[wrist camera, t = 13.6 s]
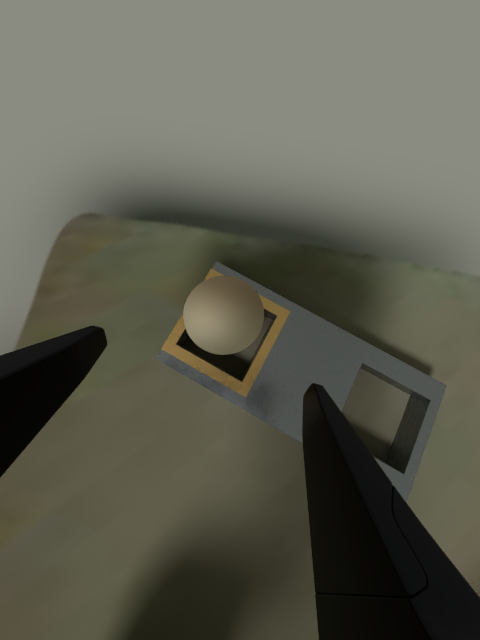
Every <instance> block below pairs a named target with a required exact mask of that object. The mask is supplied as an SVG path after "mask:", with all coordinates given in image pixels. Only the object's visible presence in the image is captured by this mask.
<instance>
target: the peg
mask: <svg viewBox="0 0 480 640" xmlns="http://www.w3.org/2000/svg"><path fill="white" fill-rule="evenodd" d="M183 319H184V325H185V328H186V331H187V333H188V335H189V336H190V338H191V339H192V341H193V342H194V343H195V344H196V345H197V346H199V347H200V348H201V349H203V350H205V351H207V352H210V353H213V354H217V355H229V354H234V353H237V352H240V351H242V350H244V349H246V348H247V347H249V346H250V345H251V344H252V343H253V342H254V341H255V340H256V338H257V337H258V335H259V334H260V332H261V329H262V326H263V322H264V308H263V304H262V301H261V299H260V297H259V295H258V293H257V292H256V291H255V289H254V288H253V287H252V286H251V285H249V284H248V283H247V282H245V281H243V280H241V279H239V278H236V277H232V276H216V277H212V278H209V279H207V280H205V281H203V282H201V283H200V284H199V285H197V286H196V287H195V288H194V289H193V290H192V292H191V293H190V294H189V296H188V298H187V300H186V303H185V306H184V312H183Z"/></svg>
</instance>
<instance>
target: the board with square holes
mask: <svg viewBox="0 0 480 640" xmlns="http://www.w3.org/2000/svg"><path fill="white" fill-rule="evenodd" d="M216 276H232V277H236V278H239V279H241V280H243V281H245V282H247V283H248V284H249V285H251V286H252V287H253V288H254V289H255V291H256V292H257V293H258V295H259V297H260V299H261V301H262V304H263V308H264V315H265V316H267V317H269V318H271V319H273V320H272V322H271V324H270V326H269V328H268V330H267V331H266V333H265V335H264V337H263V339H262V341H261V343H260V345H259V346H258V348H257V350H256V352H255V354H254V356H253V358H252V360H251V361H250V363H249V365H248V367H247V369H246V371H245V373H244V375H243V376H242V378H241V379H240V378H239V377H237V376H235V375H233V374H232V373H230V372H228V371H226V370H225V369H223V368H221V367H219V366H218V365H216V364H214V363H212V362H211V361H209V360H207V359H205V358H204V357H202V356H200V355H198V354H197V353H195V352H193V351H191V350H190V349H188V348H186V347H184V346H183V345H182V344H183V342H184V341H185V339H186V337H187V336H188V333H187V331H186V328H185V325H184V319H183V314H182V316H181V318H180V319H179V321H178V323H177V324H176V326H175V327H174V329H173V331H172V332H171V334H170V335H169V337H168V339H167V340H166V342H165V343H164V345H163V347H162V348H161V349H162V350H161V351H160V353H159V354H158V356H157V358H156V359H157V360H159V361H161V362H163V363H164V364H166V365H168V366H169V367H171V368H173V369H175V370H176V371H178V372H180V373H182V374H183V375H185V376H187V377H189V378H190V379H192V380H194V381H195V382H197V383H199V384H201V385H202V386H204V387H206V388H208V389H209V390H211V391H213V392H214V393H216V394H218V395H220V396H221V397H223V398H225V399H227V400H228V401H230V402H232V403H233V404H235V405H237V406H239V407H240V408H242V409H244V410H246V411H247V412H249V413H251V414H252V415H254V416H256V417H258V418H259V419H261V420H263V421H265V422H266V423H268V424H270V425H271V426H273V427H275V428H277V429H278V430H280V431H282V432H284V433H285V434H287V435H289V436H290V437H292V438H294V439H296V440H297V441H299V442H301V443H303V440H302V419H303V396H304V394H305V392H306V391H307V389H308V388H309V386H310V385H311V384H312V383H315V384H319V385H322V386H323V387H324V388H325V390H326V391H327V392H328V394H329V395H330V397H331V398H332V399H333V401H334V402H335V404H336V405H337V406H338V408H339V409H340V411H341V412H342V409H343V407H344V405H345V402H346V400H347V398H348V395H349V393H350V391H351V388H352V386H353V384H354V381H355V379H356V377H357V374H358V372H359V370H360V368H362V369H364V370H366V371H368V372H369V373H371V374H373V375H375V376H377V377H379V378H380V379H382V380H384V381H386V382H388V383H389V384H391V385H393V386H395V387H397V388H399V389H400V390H402V391H404V392H406V393H408V394H410V395H411V397H410V400H409V403H408V405H407V408H406V411H405V413H404V416H403V419H402V421H401V424H400V427H399V429H398V432H397V435H396V437H395V440H394V443H393V445H392V448H391V451H390V453H389V456H388V459H387V461H384V460H382V459H381V458H379V457H377V456H375V455H374V454H372V453H371V454H372V456H373V457H374V458H375V460H376V461H377V463H378V464H379V465H380V467H381V468H382V470H383V471H384V472H385V474H386V475H387V477H388V478H389V479H390V481H391V482H392V485H393V486H395V488H396V489H397V490H398V492H399V493H400V495H401V496H402V498H403V499H404V500H405V502H406V501H407V499H408V496H409V493H410V490H411V487H412V484H413V481H414V478H415V475H416V473H417V470H418V467H419V464H420V461H421V458H422V455H423V452H424V449H425V447H426V444H427V441H428V438H429V435H430V432H431V429H432V426H433V423H434V421H435V418H436V415H437V412H438V409H439V406H440V403H441V400H442V397H443V395H444V392H445V389H446V386H447V385H445V384H443V383H441V382H439V381H438V380H436V379H434V378H432V377H430V376H428V375H426V374H425V373H423V372H421V371H419V370H417V369H415V368H413V367H412V366H410V365H408V364H406V363H404V362H402V361H400V360H399V359H397V358H395V357H393V356H391V355H389V354H388V353H386V352H384V351H382V350H380V349H378V348H376V347H375V346H373V345H371V344H369V343H367V342H365V341H363V340H362V339H360V338H358V337H356V336H354V335H352V334H351V333H349V332H347V331H345V330H343V329H341V328H339V327H338V326H336V325H334V324H332V323H330V322H328V321H326V320H325V319H323V318H321V317H319V316H317V315H315V314H313V313H312V312H310V311H308V310H306V309H304V308H302V307H301V306H299V305H297V304H295V303H293V302H291V301H289V300H288V299H286V298H284V297H282V296H280V295H278V294H276V293H275V292H273V291H271V290H269V289H267V288H265V287H264V286H262V285H260V284H258V283H256V282H254V281H252V280H251V279H249V278H247V277H245V276H243V275H241V274H239V273H238V272H236V271H234V270H232V269H230V268H228V267H226V266H225V265H223V264H221V263H219V262H217V261H216V263H215V264H214V266H213V267H212V269H210V271H209V273H208V274H207V276H206V277H205V279H204V281H205V280H207V279H209V278H212V277H216Z"/></svg>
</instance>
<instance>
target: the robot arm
mask: <svg viewBox="0 0 480 640" xmlns="http://www.w3.org/2000/svg"><path fill="white" fill-rule="evenodd" d="M106 346H107V339H106V335H105V332H104V329H103V328H101V327H97V326H89V327H86V328H83V329H80V330H77V331H74V332H71V333H68V334H65V335H62V336H59V337H56V338H52V339H49V340H46V341H43V342H40V343H37V344H34V345H31V346H28V347H25V348H22V349H19V350H16V351H13V352H10V353H7V354H4V355H1V356H0V477H1V476H2V475H3V474H4V473H5V471H6V470H7V469H8V468H9V467H10V466H11V464H12V463H13V462H14V461H15V460H16V458H17V457H18V456H19V455H20V454H21V453H22V451H23V450H24V449H25V448H26V447H27V446H28V444H29V443H30V442H31V441H32V440H33V438H34V437H35V436H36V435H37V434H38V433H39V431H40V430H41V429H42V428H43V427H44V425H45V424H46V423H47V422H48V421H49V420H50V418H51V417H52V416H53V415H54V414H55V413H56V411H57V410H58V409H59V408H60V407H61V405H62V404H63V403H64V402H65V401H66V400H67V398H68V397H69V396H70V395H71V394H72V392H73V391H74V390H75V389H76V388H77V387H78V385H79V384H80V383H81V382H82V381H83V379H84V378H85V377H86V375H87V374H88V373H89V371H90V370H91V368H92V367H93V365H94V364H95V362H96V361H97V360H98V358H99V357H100V355H101V354H102V352H103V351H104V349H105V348H106ZM302 440H303V452H304V464H305V476H306V488H307V500H308V512H309V524H310V536H311V547H312V559H313V571H314V583H315V592H316V594H315V597H316V609H317V621H318V633H319V640H480V597H479V596H478V595H477V594H476V592H475V591H474V590H473V588H472V587H471V586H470V585H469V583H468V582H467V581H466V580H465V578H464V577H463V576H462V575H461V573H460V572H459V571H458V570H457V568H456V567H455V566H454V564H453V563H452V562H451V561H450V559H449V558H448V557H447V556H446V554H445V553H444V552H443V551H442V549H441V548H440V547H439V545H438V544H437V543H436V542H435V540H434V539H433V538H432V536H431V535H430V534H429V533H428V531H427V530H426V529H425V527H424V526H423V525H422V523H421V522H420V521H419V519H418V518H417V517H416V515H415V514H414V513H413V511H412V510H411V508H410V507H409V506H408V504H407V503H406V502H405V500H404V499H403V498H402V496H401V495H400V493H399V492H398V490H397V489H396V488H395V486H393V485H392V482H391V481H390V479H389V478H388V477H387V475H386V474H385V472H384V471H383V470H382V468H381V467H380V465H379V464H378V463H377V461H376V460H375V458H374V457H373V456H372V454H371V453H370V451H369V450H368V449H367V447H366V446H365V444H364V443H363V442H362V440H361V439H360V437H359V436H358V435H357V433H356V432H355V430H354V429H353V428H352V426H351V425H350V423H349V422H348V420H347V419H346V418H345V416H344V415H343V413H342V412H341V411H340V409H339V408H338V406H337V405H336V404H335V402H334V401H333V399H332V398H331V397H330V395H329V394H328V392H327V391H326V390H325V388H324V387H323V386H322V385H319V384H315V383H312V384H311V385H310V386H309V388H308V389H307V391H306V392H305V394H304V396H303V419H302Z"/></svg>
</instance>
